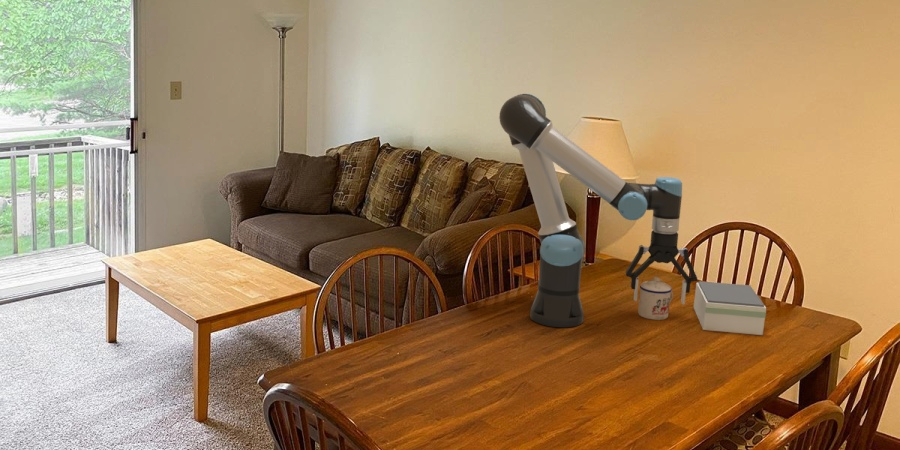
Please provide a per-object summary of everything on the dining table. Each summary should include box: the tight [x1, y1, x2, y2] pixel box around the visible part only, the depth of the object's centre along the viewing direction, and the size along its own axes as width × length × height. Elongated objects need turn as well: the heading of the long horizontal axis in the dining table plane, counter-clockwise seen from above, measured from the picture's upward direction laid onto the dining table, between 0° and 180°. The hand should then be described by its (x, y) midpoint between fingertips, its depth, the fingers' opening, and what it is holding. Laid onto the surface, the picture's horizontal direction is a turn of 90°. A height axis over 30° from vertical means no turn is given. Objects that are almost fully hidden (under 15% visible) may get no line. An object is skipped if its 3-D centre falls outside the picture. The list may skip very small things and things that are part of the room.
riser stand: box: [693, 280, 767, 336], centre depth 229 cm, size 16×20×9 cm
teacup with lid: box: [637, 276, 674, 321], centre depth 232 cm, size 12×9×12 cm
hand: (658, 301), depth 232 cm, fingers open, 13 cm apart
